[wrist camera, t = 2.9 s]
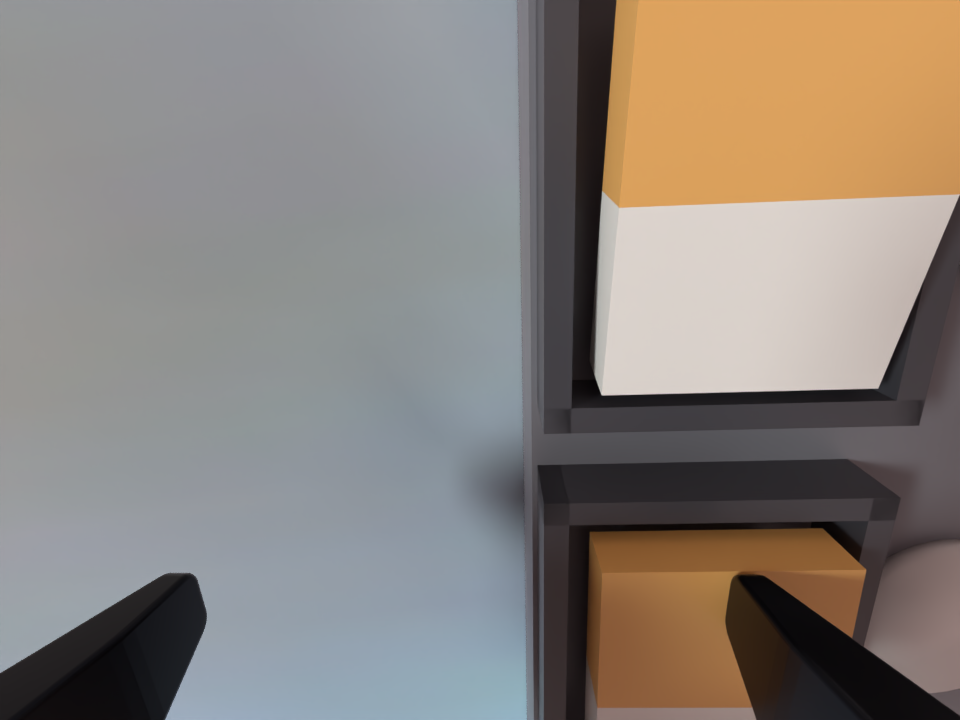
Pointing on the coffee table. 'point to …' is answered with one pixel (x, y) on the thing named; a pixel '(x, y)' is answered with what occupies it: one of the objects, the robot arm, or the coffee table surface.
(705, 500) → the power strip
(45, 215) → the coffee table surface
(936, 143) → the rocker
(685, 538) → the rocker middle
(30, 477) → the coffee table surface
